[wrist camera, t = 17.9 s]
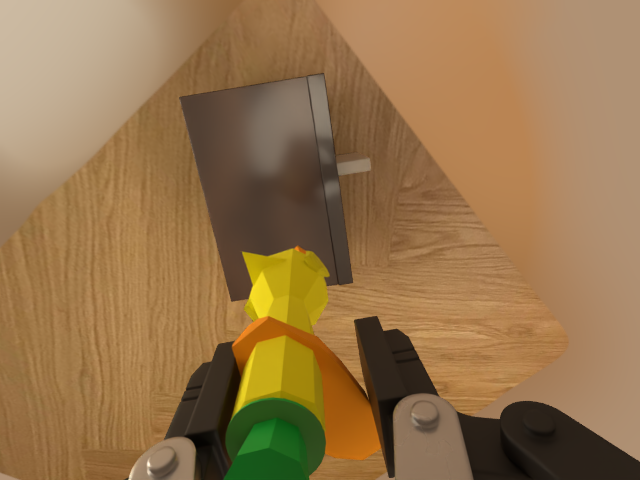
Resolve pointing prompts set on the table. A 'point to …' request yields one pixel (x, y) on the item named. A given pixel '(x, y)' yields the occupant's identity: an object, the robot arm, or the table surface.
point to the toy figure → (292, 379)
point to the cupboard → (269, 174)
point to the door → (352, 163)
